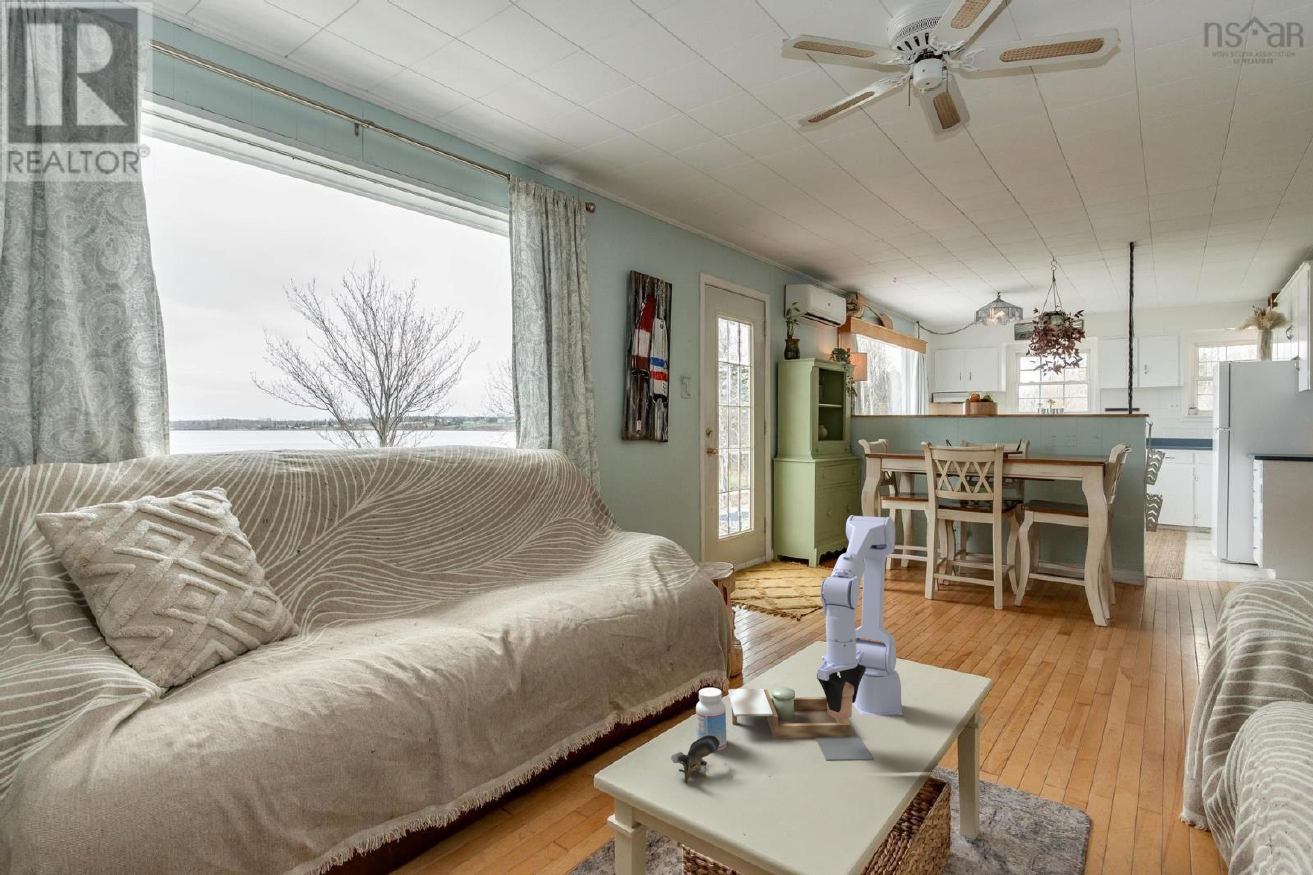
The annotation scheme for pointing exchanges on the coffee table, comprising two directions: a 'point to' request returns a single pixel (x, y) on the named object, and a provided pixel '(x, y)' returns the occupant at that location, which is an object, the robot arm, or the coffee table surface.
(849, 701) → the peach rounded knob
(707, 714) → the pill bottle
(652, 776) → the coffee table surface
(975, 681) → the coffee table surface
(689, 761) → the squirrel figurine
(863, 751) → the slate tile
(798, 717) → the cold frame
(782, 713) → the mint green knob
